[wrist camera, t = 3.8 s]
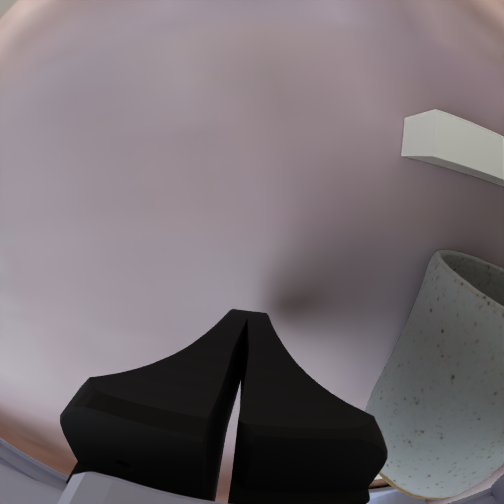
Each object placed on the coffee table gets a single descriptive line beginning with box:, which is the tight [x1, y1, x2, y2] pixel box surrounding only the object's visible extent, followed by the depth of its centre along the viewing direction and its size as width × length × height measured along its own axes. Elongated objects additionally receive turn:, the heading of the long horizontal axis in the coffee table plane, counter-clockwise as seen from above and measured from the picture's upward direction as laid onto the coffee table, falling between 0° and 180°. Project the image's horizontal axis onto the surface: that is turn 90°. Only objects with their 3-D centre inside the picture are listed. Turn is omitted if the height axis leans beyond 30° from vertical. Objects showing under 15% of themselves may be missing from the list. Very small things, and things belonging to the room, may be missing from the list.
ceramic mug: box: [365, 250, 504, 500], centre depth 8 cm, size 11×8×8 cm
